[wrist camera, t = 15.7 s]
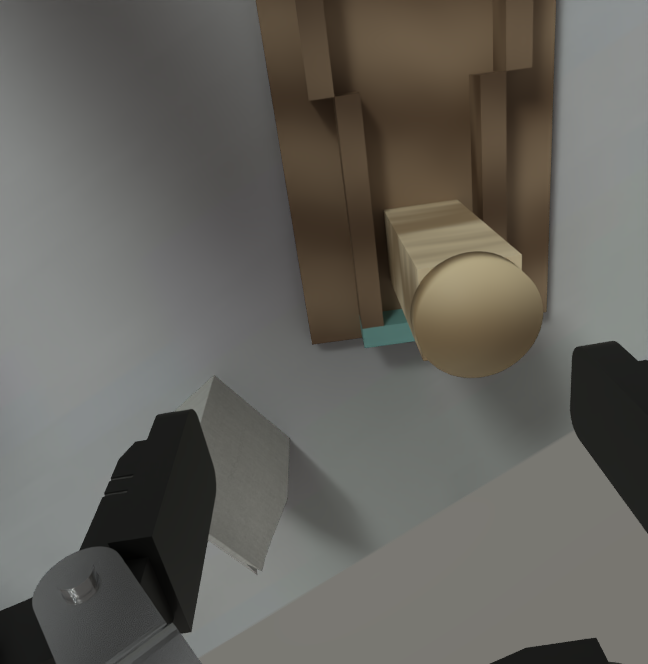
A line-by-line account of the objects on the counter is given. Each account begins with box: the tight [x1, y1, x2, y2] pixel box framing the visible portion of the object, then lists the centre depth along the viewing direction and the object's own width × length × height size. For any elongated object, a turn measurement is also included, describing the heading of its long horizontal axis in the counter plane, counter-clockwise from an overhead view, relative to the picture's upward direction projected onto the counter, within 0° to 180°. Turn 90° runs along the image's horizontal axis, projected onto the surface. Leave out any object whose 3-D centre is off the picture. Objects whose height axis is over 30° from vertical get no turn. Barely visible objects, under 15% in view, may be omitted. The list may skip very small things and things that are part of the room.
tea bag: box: [175, 375, 290, 574], centre depth 33 cm, size 4×7×10 cm, turn 43°
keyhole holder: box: [256, 0, 556, 348], centre depth 28 cm, size 25×14×3 cm, turn 8°
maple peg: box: [384, 200, 543, 378], centre depth 26 cm, size 5×5×11 cm
